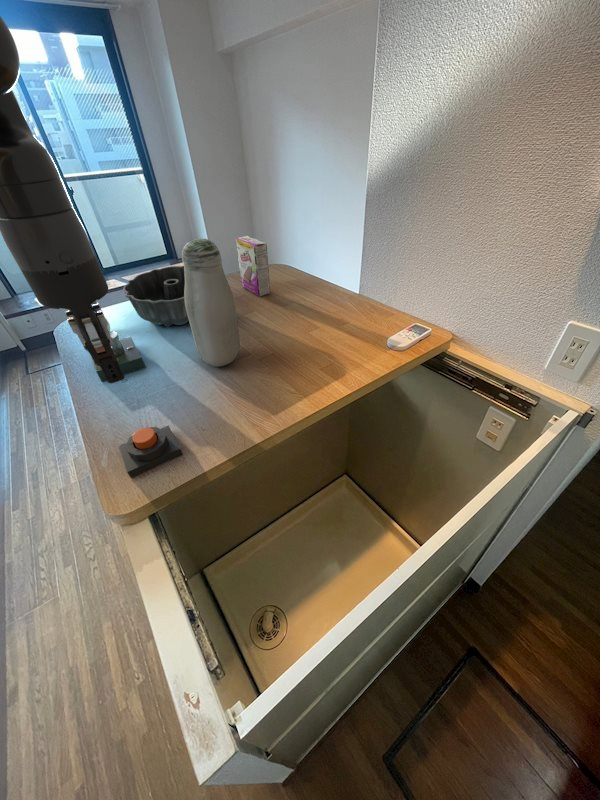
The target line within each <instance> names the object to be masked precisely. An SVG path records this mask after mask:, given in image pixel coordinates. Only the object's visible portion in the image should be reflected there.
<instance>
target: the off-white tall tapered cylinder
mask: <svg viewBox="0 0 600 800" xmlns="http://www.w3.org/2000/svg"><path fill="white" fill-rule="evenodd" d="M181 260H182V264H183V266H184V273H185V290H184V299H185V307H186V311H187V315H188V319H189V321H188V322H189V326H190V329H191V333H192V337H193V341H194V344H195V348H196V350H197V353H198V355H199V357H200V359H201V360H202V361H203V362H204V363H206V364H207V365H210V366H211V367H216V368H217V367H219V368H220V367H224V366H227V365H229V364H231V363H232V362H233V361H234V360H235V359H236V358H237V357H238V354H239V351H240V346H241V341H240V333H239V328H238V317H237V309H236V308H237V307H236V302H235V298H234V294H233V292H232V289H231V286H230V283H229V281H228V279H227V277H226V274H225V271H224V267H223V263H222V256H221V252H220V250H219V248H218V246H217V245H216V244H215V242H213V241H212V240H210V239H208V238H195V239H192V240H190V241H188V242H186V244H185V245H184V246H183V248H182V250H181Z"/></svg>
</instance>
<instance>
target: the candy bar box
mask: <svg viewBox="0 0 600 800" xmlns="http://www.w3.org/2000/svg"><path fill="white" fill-rule="evenodd" d="M235 247H236V252H237V259H238V266H239V275H240V282H241V288H243V289H245V291H246V290H247V291H248V292H250V293H252V294H254V295H255V296H257V297H259V298H262V297H264V296H266V295H270V294H271V285H270V283H271V282H270V271H269V270H270V269H269V258H268V245H267V243H266V242H264V241H262V240H259V239H257V238H254V237H251V236H250V235H244V236H240V237H236V238H235Z"/></svg>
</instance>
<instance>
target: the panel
mask: <svg viewBox="0 0 600 800" xmlns="http://www.w3.org/2000/svg"><path fill="white" fill-rule="evenodd" d="M119 339H120V342H121V344H122V346H123V349H124V352H123V353H122V354H121V355H119V356H117V362H118V364H119V366H120V369H121V371H122V373H123V375H124V376H125V375H128V374H131V373H134V372H137V371H141V370H143V369H146V368H147V366H146V364H145V361H144V359H143V356H142V355H141V353H140V351H139V349H138V348H137V345H136V344H135V342H134V341H133V338H132V337H131V336H128V337H124V338H119ZM90 358H91V360H92V364H93V366H94V369H95V372H96V374H97V376H98V378H99V380H100V382H101V383H103V382H106V381H107V379H106V377H105V375H104V373H103V371H102V369H101V367H100V366H97V364H95V362H94V360H93V358H92V356H91V355H90ZM107 382H108V381H107Z"/></svg>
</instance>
